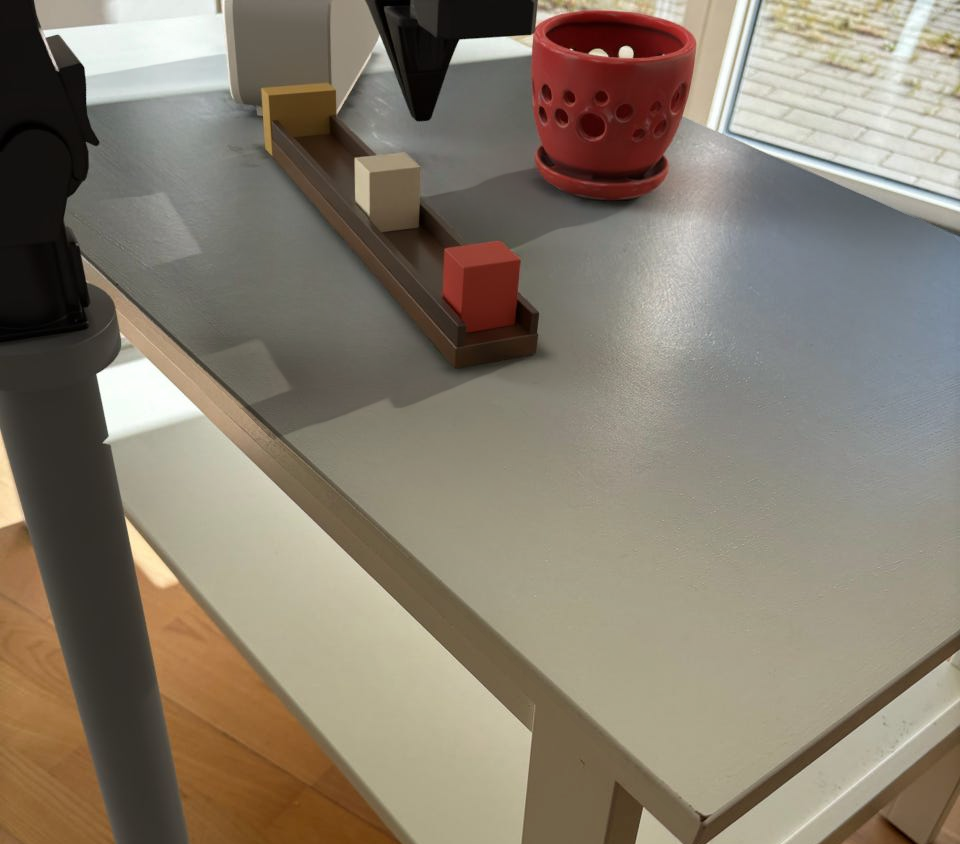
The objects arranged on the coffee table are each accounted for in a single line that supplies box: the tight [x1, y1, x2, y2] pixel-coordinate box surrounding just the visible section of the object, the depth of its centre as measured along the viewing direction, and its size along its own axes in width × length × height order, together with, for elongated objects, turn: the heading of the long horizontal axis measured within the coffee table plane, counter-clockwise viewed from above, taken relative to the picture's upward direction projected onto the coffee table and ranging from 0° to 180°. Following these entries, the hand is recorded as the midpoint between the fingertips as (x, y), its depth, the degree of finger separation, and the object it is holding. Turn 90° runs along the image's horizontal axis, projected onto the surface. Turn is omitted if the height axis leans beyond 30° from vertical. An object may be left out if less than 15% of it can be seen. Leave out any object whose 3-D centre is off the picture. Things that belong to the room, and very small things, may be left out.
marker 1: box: [355, 151, 422, 232], centre depth 81 cm, size 4×3×4 cm
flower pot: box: [530, 9, 697, 201], centre depth 91 cm, size 13×13×12 cm
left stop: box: [261, 83, 338, 158], centre depth 94 cm, size 6×2×5 cm, turn 116°
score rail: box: [271, 115, 540, 369], centre depth 82 cm, size 6×38×3 cm, turn 26°
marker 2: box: [442, 240, 522, 333], centre depth 70 cm, size 4×3×4 cm
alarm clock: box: [222, 0, 380, 117], centre depth 105 cm, size 27×9×12 cm, turn 174°
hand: (421, 119), depth 72 cm, fingers closed
